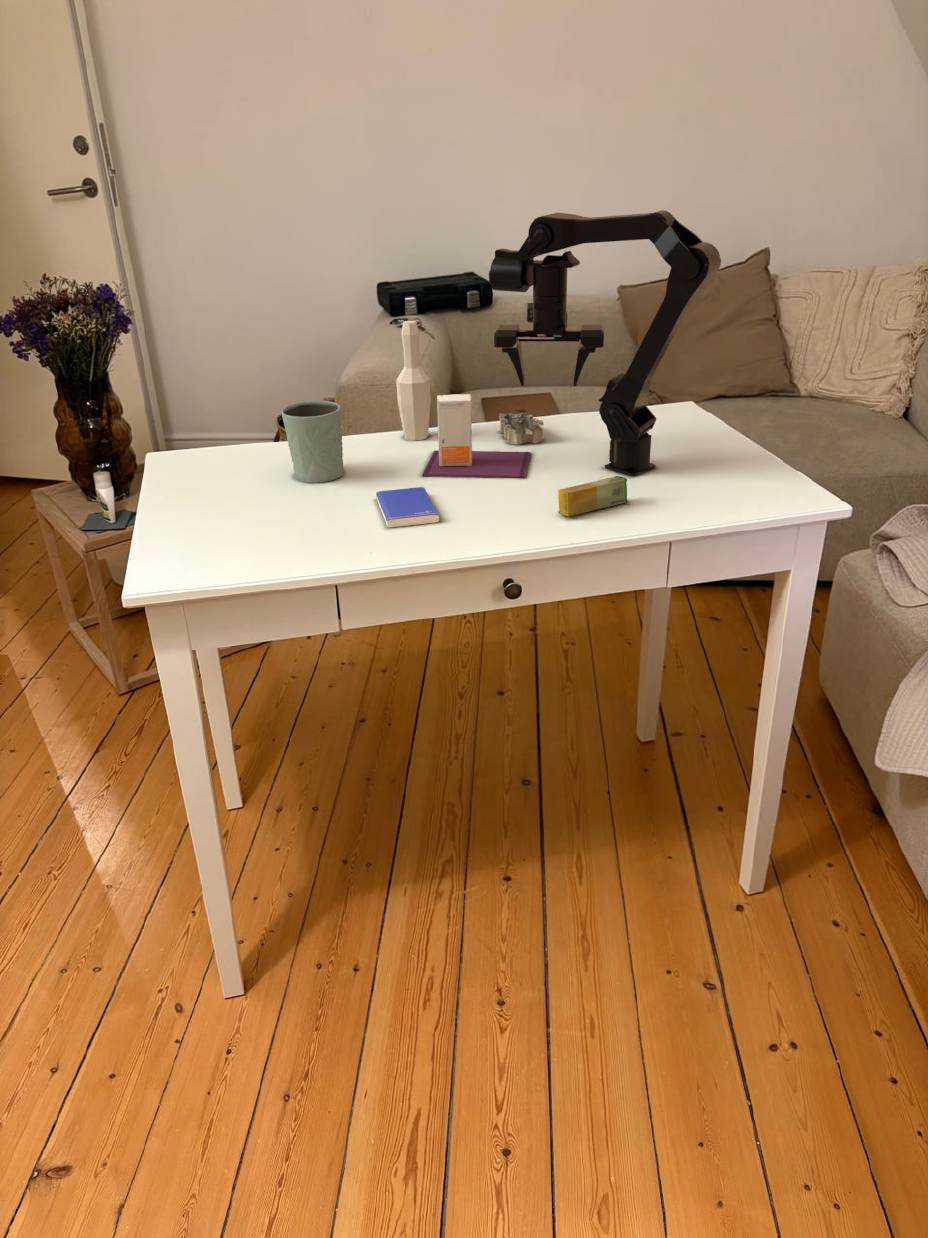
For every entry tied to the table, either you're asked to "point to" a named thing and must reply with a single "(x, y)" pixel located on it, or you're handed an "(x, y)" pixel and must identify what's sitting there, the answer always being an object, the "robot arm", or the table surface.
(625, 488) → the medication box
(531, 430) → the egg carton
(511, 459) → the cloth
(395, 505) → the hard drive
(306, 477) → the green plant pot
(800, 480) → the table surface
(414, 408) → the faceted bottle
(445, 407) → the cosmetic box
